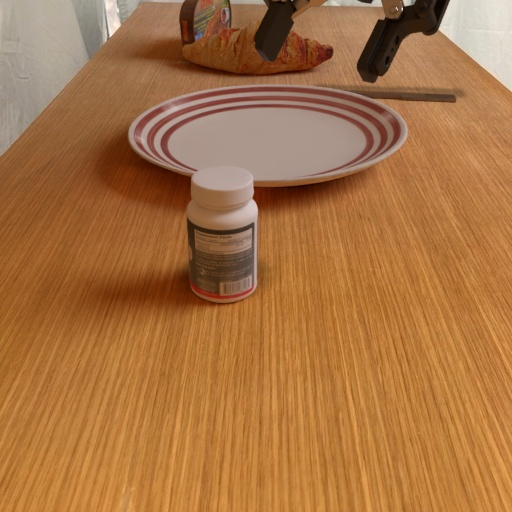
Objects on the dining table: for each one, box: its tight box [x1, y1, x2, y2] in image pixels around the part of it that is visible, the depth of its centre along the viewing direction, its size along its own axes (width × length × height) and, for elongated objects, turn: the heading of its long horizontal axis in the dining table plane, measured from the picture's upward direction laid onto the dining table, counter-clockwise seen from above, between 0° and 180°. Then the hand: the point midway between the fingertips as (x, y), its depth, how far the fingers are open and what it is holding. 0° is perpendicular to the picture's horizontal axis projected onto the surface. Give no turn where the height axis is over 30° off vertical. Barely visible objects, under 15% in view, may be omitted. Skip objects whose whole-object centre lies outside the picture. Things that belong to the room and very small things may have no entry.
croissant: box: [181, 18, 335, 76], centre depth 96 cm, size 21×10×8 cm, turn 85°
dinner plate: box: [127, 83, 409, 188], centre depth 69 cm, size 28×27×3 cm
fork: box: [342, 89, 457, 103], centre depth 86 cm, size 17×2×1 cm, turn 83°
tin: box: [178, 0, 233, 48], centre depth 104 cm, size 15×3×8 cm, turn 161°
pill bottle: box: [186, 166, 259, 304], centre depth 47 cm, size 5×5×8 cm
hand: (311, 65), depth 49 cm, fingers open, 8 cm apart
